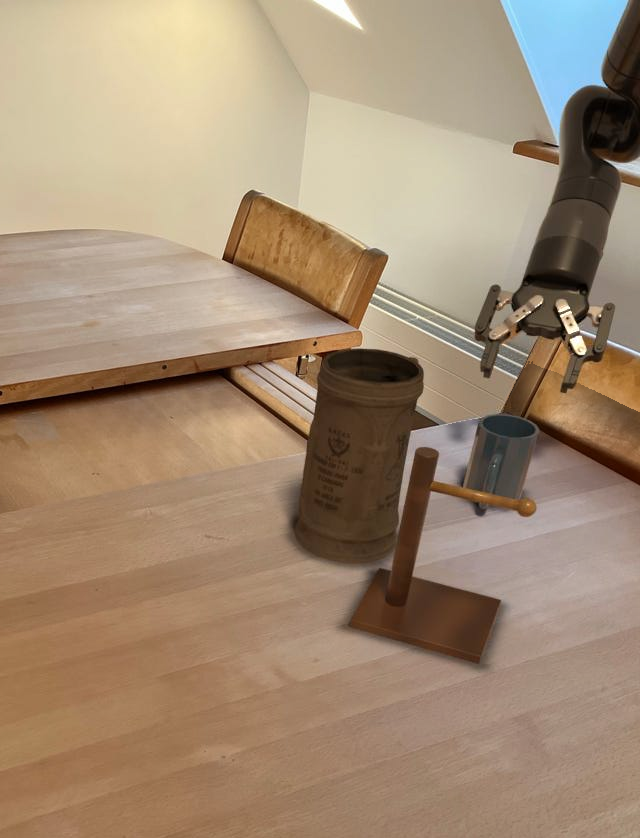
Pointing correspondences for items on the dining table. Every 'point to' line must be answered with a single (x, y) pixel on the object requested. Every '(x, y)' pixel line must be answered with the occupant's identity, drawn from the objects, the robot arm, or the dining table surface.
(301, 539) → the beer stein
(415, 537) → the mug stand
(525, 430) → the mug
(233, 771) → the dining table surface
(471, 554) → the dining table surface
